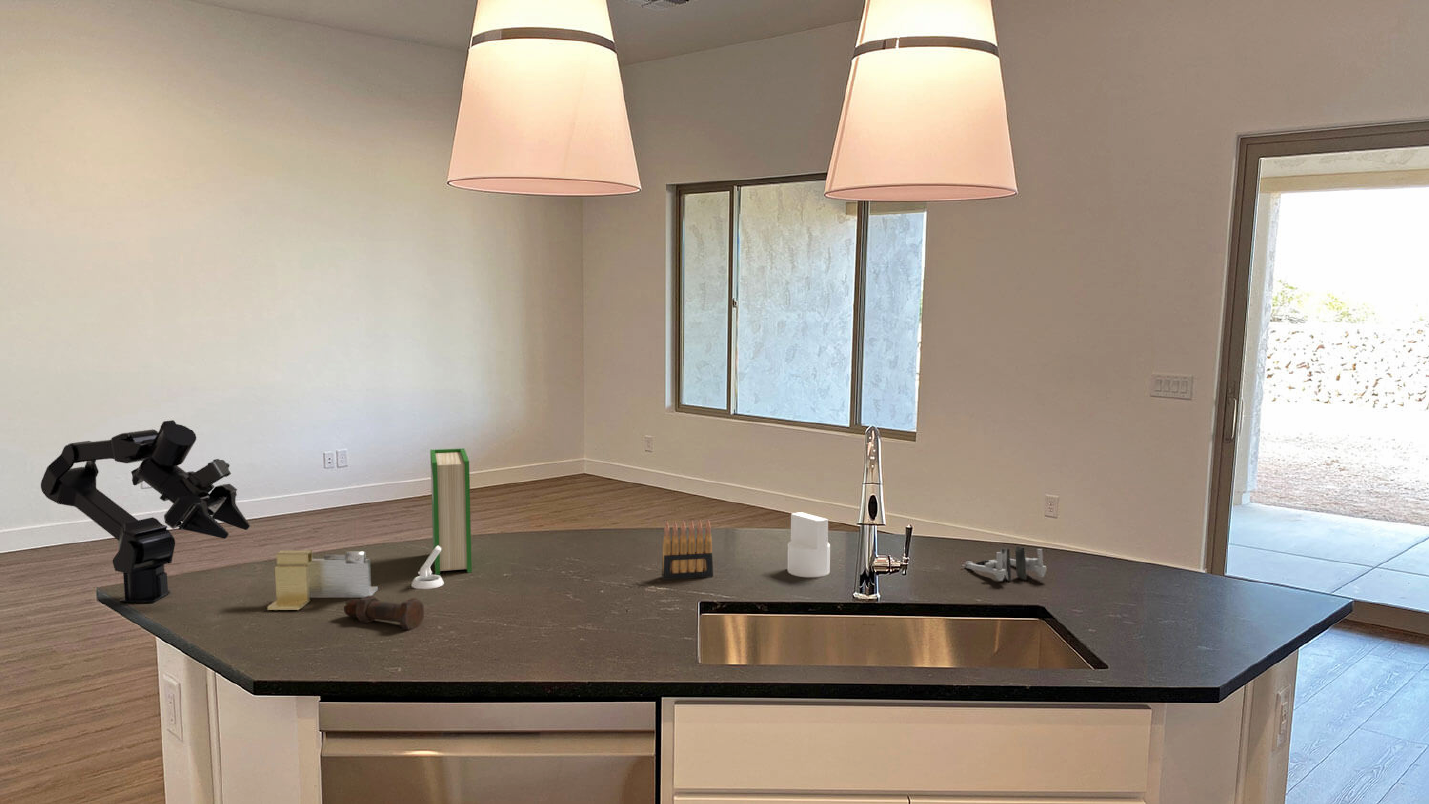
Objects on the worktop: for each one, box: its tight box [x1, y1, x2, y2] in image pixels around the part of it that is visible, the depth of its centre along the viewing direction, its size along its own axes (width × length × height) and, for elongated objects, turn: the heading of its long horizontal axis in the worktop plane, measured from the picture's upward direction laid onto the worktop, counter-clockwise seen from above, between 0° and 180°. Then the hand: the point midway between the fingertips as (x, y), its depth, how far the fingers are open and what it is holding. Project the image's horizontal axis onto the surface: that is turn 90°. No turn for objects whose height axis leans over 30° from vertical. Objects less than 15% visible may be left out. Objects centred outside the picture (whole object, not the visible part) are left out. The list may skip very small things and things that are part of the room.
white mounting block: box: [305, 550, 379, 599], centre depth 192 cm, size 12×8×10 cm
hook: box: [411, 546, 445, 590], centre depth 200 cm, size 6×10×6 cm
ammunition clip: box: [661, 519, 714, 581], centre depth 206 cm, size 11×2×12 cm, turn 102°
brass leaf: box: [267, 549, 313, 611], centre depth 186 cm, size 6×7×9 cm
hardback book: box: [429, 448, 473, 576], centre depth 215 cm, size 18×7×24 cm, turn 17°
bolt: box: [343, 595, 425, 631], centre depth 177 cm, size 6×5×15 cm
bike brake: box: [961, 545, 1047, 582], centre depth 211 cm, size 14×7×20 cm
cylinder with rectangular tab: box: [787, 511, 831, 578], centre depth 211 cm, size 9×9×12 cm
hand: (238, 532), depth 186 cm, fingers open, 9 cm apart
